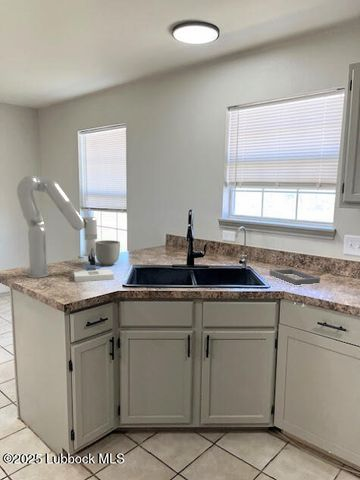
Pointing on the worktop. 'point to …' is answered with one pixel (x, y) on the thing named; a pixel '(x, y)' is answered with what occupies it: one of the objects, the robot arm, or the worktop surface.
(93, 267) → the servo block
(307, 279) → the frame
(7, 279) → the worktop surface
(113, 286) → the worktop surface
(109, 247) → the planter
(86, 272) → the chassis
